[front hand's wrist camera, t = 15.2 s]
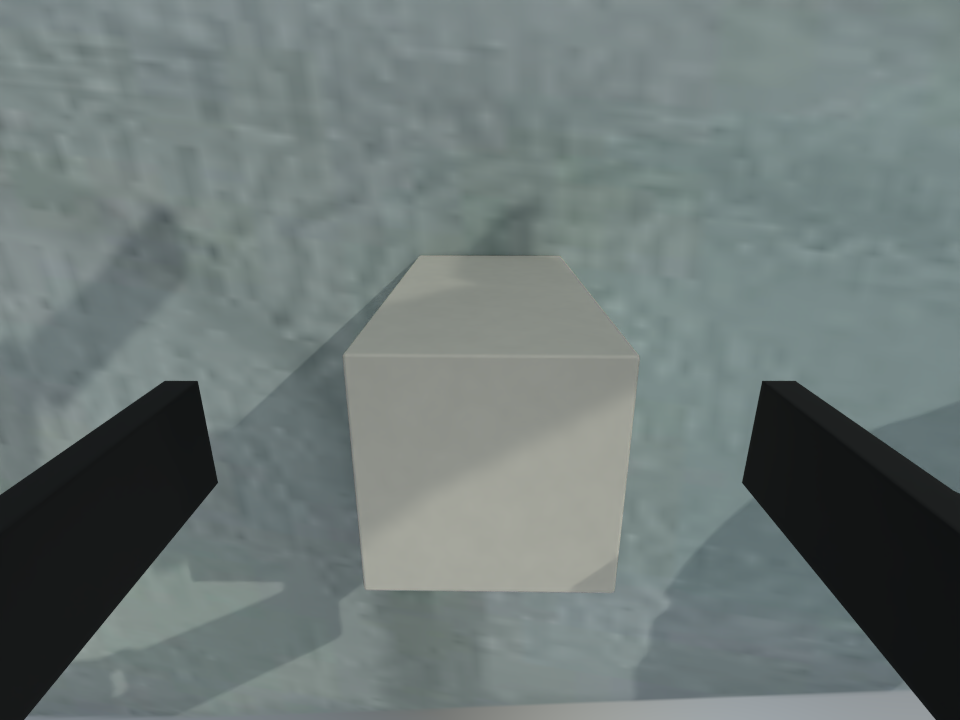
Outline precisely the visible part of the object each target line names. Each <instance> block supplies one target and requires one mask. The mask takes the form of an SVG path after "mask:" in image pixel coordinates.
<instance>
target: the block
mask: <svg viewBox="0 0 960 720" xmlns="http://www.w3.org/2000/svg"><path fill="white" fill-rule="evenodd" d="M639 362H640V357H639V355H638V354H637V352H636V351H635V350H634V349H633V347H632V346H631V345H630V344H629V342H628V341H627V340H626V338H625V337H624V336H623V335H622V333H621V332H620V331H619V330H618V328H617V327H616V326H615V325H614V323H613V322H612V321H611V320H610V318H609V317H608V316H607V314H606V313H605V312H604V311H603V309H602V308H601V307H600V306H599V304H598V303H597V302H596V301H595V299H594V298H593V297H592V295H591V294H590V293H589V292H588V290H587V289H586V288H585V287H584V285H583V284H582V283H581V282H580V280H579V279H578V278H577V276H576V275H575V274H574V273H573V271H572V270H571V269H570V268H569V266H568V265H567V264H566V263H565V261H564V260H563V259H562V258H561V256H419V257H418V258H417V259H416V261H415V262H414V263H413V265H412V266H411V267H410V269H409V270H408V271H407V272H406V274H405V275H404V276H403V278H402V279H401V280H400V281H399V283H398V284H397V285H396V287H395V288H394V289H393V291H392V292H391V293H390V294H389V296H388V297H387V298H386V300H385V301H384V302H383V304H382V305H381V306H380V307H379V309H378V310H377V311H376V313H375V314H374V315H373V316H372V318H371V319H370V320H369V322H368V323H367V324H366V326H365V327H364V328H363V329H362V331H361V332H360V333H359V335H358V336H357V337H356V339H355V340H354V341H353V342H352V344H351V345H350V346H349V348H348V349H347V350H346V351H345V353H344V354H343V366H344V376H345V387H346V398H347V409H348V419H349V430H350V441H351V451H352V462H353V473H354V484H355V494H356V505H357V516H358V527H359V537H360V548H361V559H362V569H363V580H364V588H365V590H400V591H485V592H570V593H613V592H614V590H615V582H616V573H617V564H618V555H619V545H620V536H621V527H622V518H623V509H624V499H625V490H626V481H627V472H628V463H629V454H630V444H631V435H632V426H633V417H634V408H635V398H636V389H637V380H638V371H639Z"/></svg>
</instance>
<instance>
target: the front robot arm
mask: <svg viewBox="0 0 960 720" xmlns="http://www.w3.org/2000/svg"><path fill="white" fill-rule="evenodd" d="M217 483H218V481H217V476H216V471H215V466H214V461H213V456H212V451H211V446H210V441H209V436H208V431H207V425H206V420H205V415H204V410H203V405H202V400H201V395H200V390H199V385H198V381H164V382H163V383H161V384H160V385H158V386H157V387H155V388H154V389H152V390H151V391H150V392H148V393H147V394H145V395H144V396H142V397H141V398H140V399H138V400H137V401H135V402H134V403H132V404H131V405H129V406H128V407H127V408H125V409H124V410H122V411H121V412H119V413H118V414H116V415H115V416H114V417H112V418H111V419H109V420H108V421H106V422H105V423H103V424H102V425H101V426H99V427H98V428H96V429H95V430H93V431H92V432H91V433H89V434H88V435H86V436H85V437H83V438H82V439H80V440H79V441H78V442H76V443H75V444H73V445H72V446H70V447H69V448H67V449H66V450H65V451H63V452H62V453H60V454H59V455H57V456H56V457H54V458H53V459H52V460H50V461H49V462H47V463H46V464H44V465H43V466H42V467H40V468H39V469H37V470H36V471H34V472H33V473H31V474H30V475H29V476H27V477H26V478H24V479H23V480H21V481H20V482H18V483H17V484H16V485H14V486H13V487H11V488H10V489H8V490H7V491H5V492H4V493H3V494H1V495H0V720H24V719H25V718H26V717H27V716H28V714H29V713H30V712H31V711H32V709H33V708H34V707H35V706H36V705H37V703H38V702H39V701H40V700H41V698H42V697H43V696H44V695H45V694H46V692H47V691H48V690H49V689H50V687H51V686H52V685H53V684H54V683H55V681H56V680H57V679H58V678H59V676H60V675H61V674H62V673H63V672H64V670H65V669H66V668H67V667H68V665H69V664H70V663H71V662H72V661H73V659H74V658H75V657H76V656H77V654H78V653H79V652H80V651H81V650H82V648H83V647H84V646H85V645H86V643H87V642H88V641H89V640H90V639H91V637H92V636H93V635H94V634H95V632H96V631H97V630H98V629H99V628H100V626H101V625H102V624H103V623H104V621H105V620H106V619H107V618H108V617H109V615H110V614H111V613H112V612H113V610H114V609H115V608H116V607H117V606H118V604H119V603H120V602H121V601H122V599H123V598H124V597H125V596H126V595H127V593H128V592H129V591H130V590H131V588H132V587H133V586H134V585H135V584H136V582H137V581H138V580H139V579H140V577H141V576H142V575H143V574H144V573H145V571H146V570H147V569H148V568H149V566H150V565H151V564H152V563H153V562H154V560H155V559H156V558H157V557H158V555H159V554H160V553H161V552H162V551H163V549H164V548H165V547H166V546H167V544H168V543H169V542H170V541H171V539H172V538H173V537H174V536H175V535H176V533H177V532H178V531H179V530H180V528H181V527H182V526H183V525H184V524H185V522H186V521H187V520H188V519H189V517H190V516H191V515H192V514H193V513H194V511H195V510H196V509H197V508H198V506H199V505H200V504H201V503H202V502H203V500H204V499H205V498H206V497H207V495H208V494H209V493H210V492H211V491H212V489H213V488H214V487H215V486H216V484H217ZM742 483H743V484H744V486H745V487H746V488H747V489H748V491H749V492H750V493H751V494H752V495H753V497H754V498H755V499H756V500H757V502H758V503H759V504H760V505H761V506H762V508H763V509H764V510H765V511H766V513H767V514H768V515H769V516H770V517H771V519H772V520H773V521H774V522H775V524H776V525H777V526H778V527H779V528H780V530H781V531H782V532H783V533H784V535H785V536H786V537H787V538H788V540H789V541H790V542H791V543H792V544H793V546H794V547H795V548H796V549H797V551H798V552H799V553H800V554H801V555H802V557H803V558H804V559H805V560H806V562H807V563H808V564H809V565H810V566H811V568H812V569H813V570H814V571H815V573H816V574H817V575H818V576H819V577H820V579H821V580H822V581H823V582H824V584H825V585H826V586H827V587H828V588H829V590H830V591H831V592H832V593H833V595H834V596H835V597H836V598H837V599H838V601H839V602H840V603H841V604H842V606H843V607H844V608H845V609H846V610H847V612H848V613H849V614H850V615H851V617H852V618H853V619H854V620H855V621H856V623H857V624H858V625H859V626H860V628H861V629H862V630H863V631H864V632H865V634H866V635H867V636H868V637H869V639H870V640H871V641H872V642H873V643H874V645H875V646H876V647H877V648H878V650H879V651H880V652H881V653H882V654H883V656H884V657H885V658H886V659H887V661H888V662H889V663H890V664H891V665H892V667H893V668H894V669H895V670H896V672H897V673H898V674H899V675H900V676H901V678H902V679H903V680H904V681H905V683H906V684H907V685H908V686H909V687H910V689H911V690H912V691H913V692H914V694H915V695H916V696H917V697H918V698H919V700H920V701H921V702H922V703H923V705H924V706H925V707H926V708H927V709H928V711H929V712H930V713H931V714H932V716H933V717H934V718H935V719H936V720H960V494H959V493H957V492H955V491H953V490H952V489H950V488H949V487H947V486H946V485H944V484H943V483H942V482H940V481H939V480H937V479H936V478H934V477H933V476H931V475H930V474H929V473H927V472H926V471H924V470H923V469H921V468H920V467H918V466H917V465H916V464H914V463H913V462H911V461H910V460H908V459H907V458H906V457H904V456H903V455H901V454H900V453H898V452H897V451H895V450H894V449H893V448H891V447H890V446H888V445H887V444H885V443H884V442H882V441H881V440H880V439H878V438H877V437H875V436H874V435H872V434H871V433H869V432H868V431H867V430H865V429H864V428H862V427H861V426H859V425H858V424H857V423H855V422H854V421H852V420H851V419H849V418H848V417H846V416H845V415H844V414H842V413H841V412H839V411H838V410H836V409H835V408H833V407H832V406H831V405H829V404H828V403H826V402H825V401H823V400H822V399H820V398H819V397H818V396H816V395H815V394H813V393H812V392H810V391H809V390H808V389H806V388H805V387H803V386H802V385H800V384H799V383H797V382H796V381H762V385H761V390H760V395H759V400H758V405H757V410H756V415H755V420H754V425H753V431H752V436H751V441H750V446H749V451H748V456H747V461H746V466H745V471H744V476H743V481H742Z"/></svg>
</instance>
